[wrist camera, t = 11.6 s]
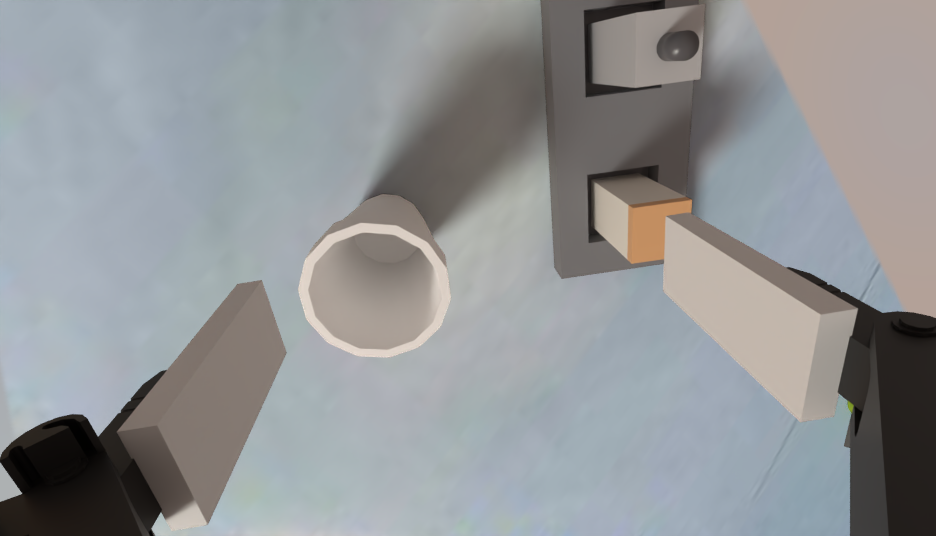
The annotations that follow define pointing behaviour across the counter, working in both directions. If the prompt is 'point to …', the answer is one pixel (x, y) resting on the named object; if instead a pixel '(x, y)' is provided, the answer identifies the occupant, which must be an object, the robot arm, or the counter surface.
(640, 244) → the plug
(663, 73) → the grey tall block
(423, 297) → the foam cup
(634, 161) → the socket strip
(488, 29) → the counter surface
